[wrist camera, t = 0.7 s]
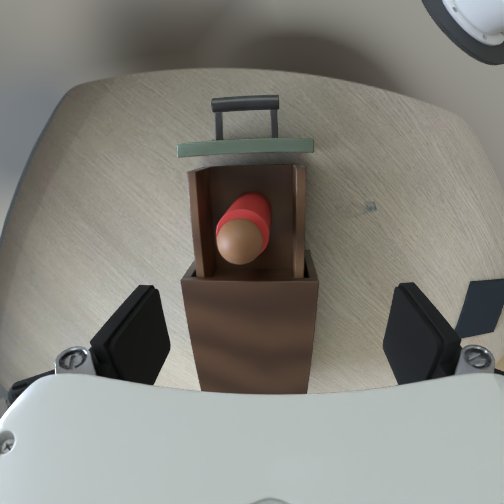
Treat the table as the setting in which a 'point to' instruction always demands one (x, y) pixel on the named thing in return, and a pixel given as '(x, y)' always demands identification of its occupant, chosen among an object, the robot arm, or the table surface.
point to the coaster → (481, 308)
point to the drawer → (248, 180)
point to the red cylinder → (244, 228)
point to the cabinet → (252, 331)
